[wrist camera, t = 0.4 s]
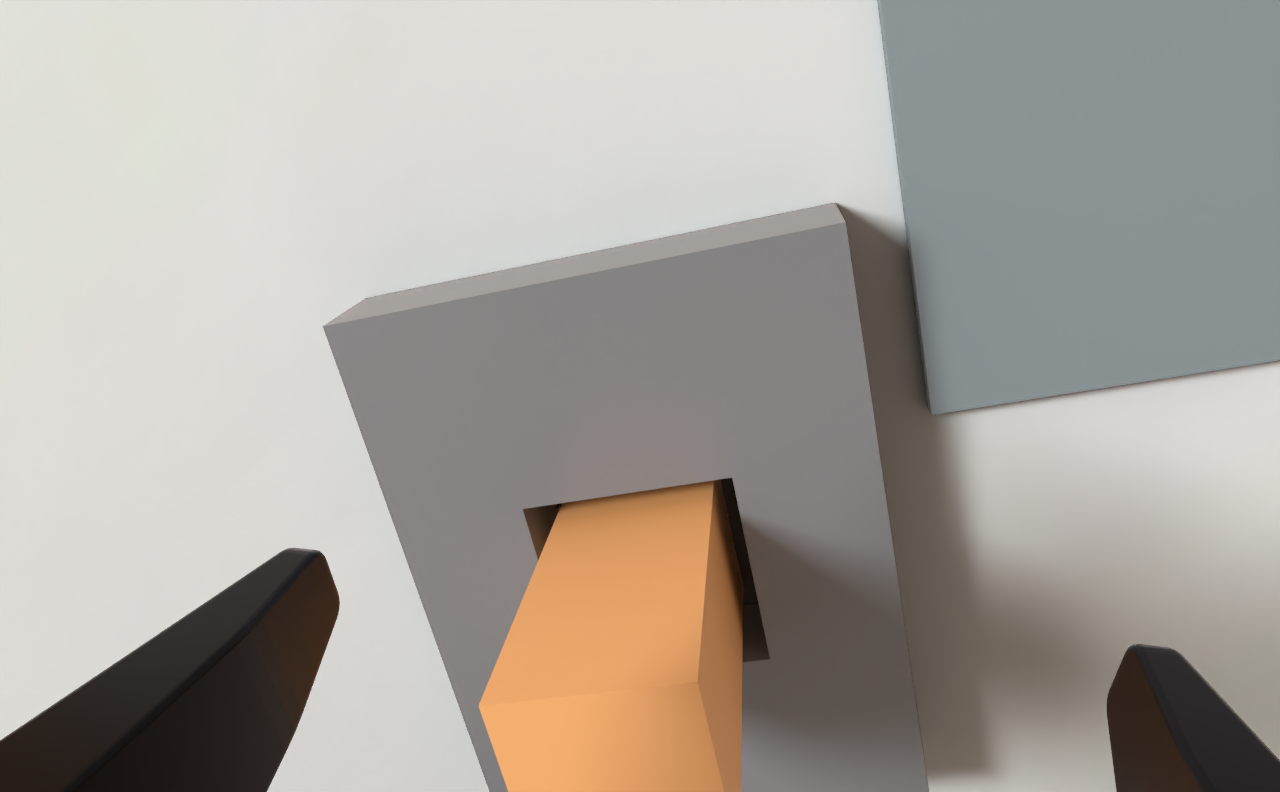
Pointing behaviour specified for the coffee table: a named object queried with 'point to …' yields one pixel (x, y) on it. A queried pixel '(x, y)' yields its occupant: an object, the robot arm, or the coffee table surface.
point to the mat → (1086, 190)
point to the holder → (657, 464)
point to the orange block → (626, 651)
